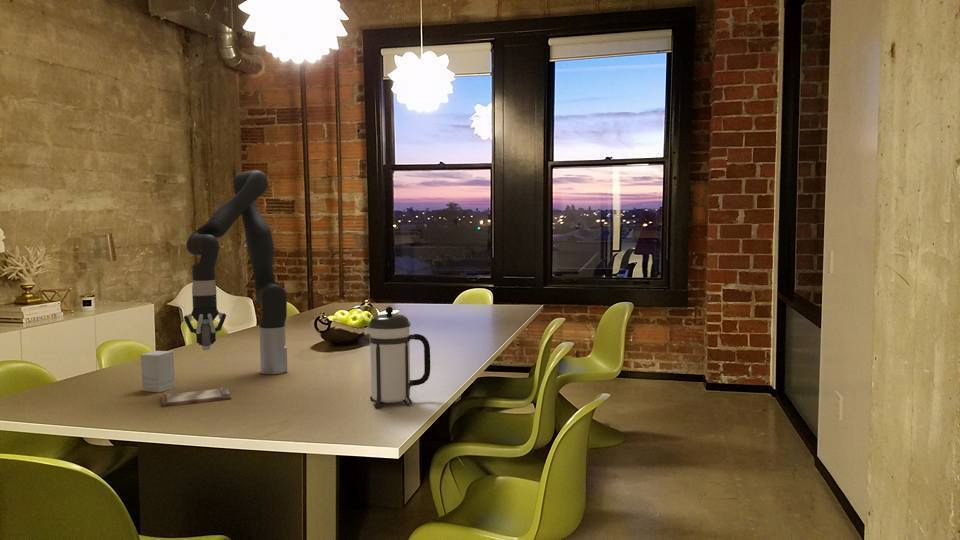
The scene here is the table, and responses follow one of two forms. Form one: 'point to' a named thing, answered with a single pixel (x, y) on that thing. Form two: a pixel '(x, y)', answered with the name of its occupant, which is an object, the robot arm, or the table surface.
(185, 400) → the writing board
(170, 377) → the supplement box
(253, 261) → the robot arm
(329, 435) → the table surface
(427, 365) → the coffee press
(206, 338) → the marker
